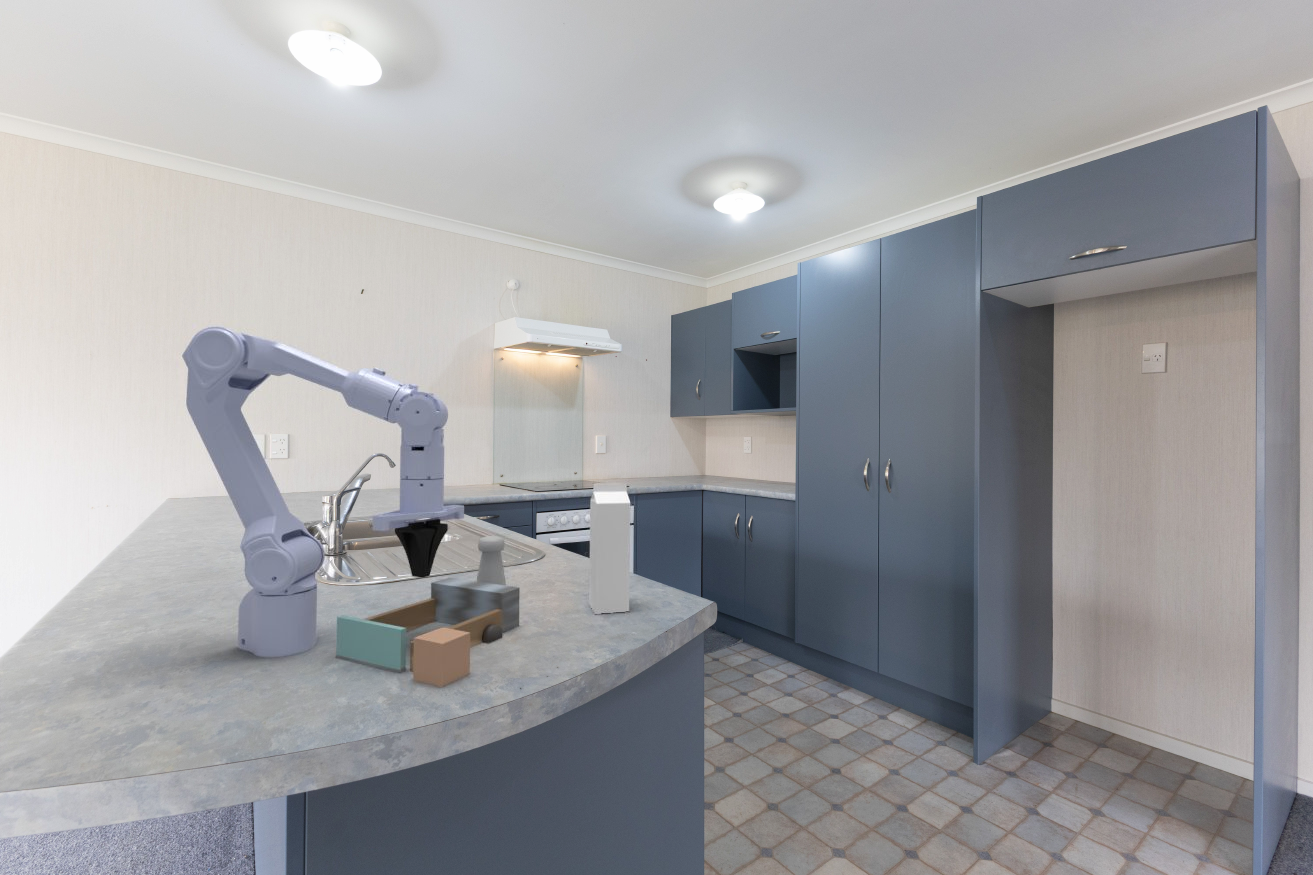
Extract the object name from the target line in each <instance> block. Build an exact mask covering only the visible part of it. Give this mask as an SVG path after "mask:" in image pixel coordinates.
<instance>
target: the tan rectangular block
mask: <svg viewBox="0 0 1313 875" xmlns="http://www.w3.org/2000/svg"><path fill="white" fill-rule="evenodd" d="M413 641H414V663H413V671H412V672H413V673H412V678H413V679H412V680H413V681H415V682H419V683H424V684H427V685H431V686H434V687H435V686H436V687H439V688H443V687H445V686H447V685H449V684H451V683H453V682H455V681H457V680H459V679H460V680H461V679H462V678H464V677H466V676H468V675H470V674H471V667H470V666H471V647H470V632H464V631H459V630H454V629H449V628H448V627H444V626H442V627H439V628H437V629H434V630H431V631H428V632H426V633H424V634H420V635H418V636H415V637H414V638H413Z"/></svg>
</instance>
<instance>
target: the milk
mask: <svg viewBox="0 0 1313 875" xmlns="http://www.w3.org/2000/svg"><path fill="white" fill-rule="evenodd" d="M592 487H593V492H592V495H591V497H590V501H589V502H590V506H589V511H590V512H589V513H590V514H589V515H590V516H589V573H588V574H589V581H588V582H589V584H588V585H589V586H588V587H589V589H588V590H589V592H588V596H589V597H588V606H589V605H590V606H589V607H590V609H591V608H592V609H591V610H592V612H593V614H594V615H595V614H597V615H602V614H601V613H611V614H614V613H613V612H625V611H629V612H630V573H631V572H630V567H631V566H630V565H631V562H630V560H631V559H630V558H631V557H630V556H631V553H630V551H631V501H630V497H629V494H628V485H627V483H625V482H599V483H597V482H596V483H594V484H593V486H592ZM625 613H626V612H625Z"/></svg>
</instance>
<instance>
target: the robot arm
mask: <svg viewBox="0 0 1313 875" xmlns="http://www.w3.org/2000/svg"><path fill="white" fill-rule="evenodd" d="M181 356H182V359H183V360H184V363H185V365H186V367H187V380H186V381H187V383H186V397H185V398H186V400H185V401H186V404H185V405H186V408H187V412H188V414H189V416H190V418H191V420H192V422H193V424H194V427H195V428H196V430H197V433H198V435H199V436H200V438H201V441H202V443H203V445H204V447H205V448H206V450H207V453H208V455H209V457H210V459H211V461H212V463H213V465H214V467H215V469H216V471H217V473H218V475H219V477H220V479H221V482H222V483H223V486H224V488H225V490H226V492H227V495H228V496H229V498H230V500H231V502H232V504H233V506H234V509H235V510H236V512H237V515H238V516H239V519H240V521H241V523H242V525H243V528H244V533H243V537H242V539H241V543H240V545H239V547H240V550H241V552H242V555H243V557H244V570H243V571H244V577H245V579H246V582H247V583H248V584H249V586H251V587H252V589H250V590H249V591H248V592H247V593H245V594H244V596H243V598H242V600H241V601H240V603H239V607H238V622H237V623H238V624H237V625H238V627H237V628H238V632H237V634H238V635H237V648H238V649H240V650H244V651H246V652H251V653H252V654H253V655H254V656H257V657H258V658H259V657H260V658H281V657H287V656H293V655H297V654H301V653H304V652H306V651H309V650H312V649H313V648H315V646H317V631H318V630H317V628H318V625H317V624H318V623H317V622H318V621H317V617H318V613H317V612H318V581H317V580H318V579H317V578H316V573H318V571H319V570H320V569H321V568H322V566H323V565H324V563H325V562H324V561H325V557H326V553H325V549H324V545H323V544H322V543H321V541H320V540H319V539H318V538H316V537H315V536H313V535H312V534H311V533H310V532H309V530H308V529H307V527H306V524H305V523H304V522H303V521H301V520H300V519H299V518H298V517H296V516H295V515H293V514H292V512H290V511H289V508H288V506H287V504H286V501H285V500H284V497H283V495H282V493H281V491H280V489H279V487H278V484H277V483H276V480H275V479H274V477H273V474H272V472H271V470H270V468H269V466H268V464H267V462H266V459H265V458H264V456H263V454H262V451H261V449H260V447H259V445H258V443H257V441H256V439H255V437H254V435H253V433H252V431H251V428H250V426H249V424H248V422H247V420H246V418H245V416H244V414H243V412H242V407H243V405H244V403H245V402H246V401H247V399H248V397H249V396H250V395H251V394H252V392H254V391H255V390H256V389H258V387H259V386H260V385H262V384H263V383H264V382H265V381H266V380H267V379H268V378H269V377H270V376H276V377H282V376H284V375H288V374H289V375H291V376H295V377H297V378H300V379H303V380H305V381H308V382H311V383H314V384H317V385H319V386H322V387H324V388H328V389H331V390H333V391H336V392H339V393H341V395H342V397H343V399H344V400H345V402H346V403H345V404H346V405H347V406H348V407H350V408H353V409H355V410H357V411H360V412H363V413H365V414H368V415H370V416H373V417H375V418H378V419H380V420H383V421H386V422H388V423H390V424H397V425H398V427H400V428H401V431H400V432H401V434H400V436H401V438H400V439H401V443H400V449H399V450H400V452H399V453H400V460H399V461H400V462H399V463H400V464H399V465H400V466H399V509H398V510H394V511H389V512H385V513H379V514H375V515H372V530H373V531H377V532H379V531H380V532H387V531H390V530H392V529H394V533H395V535H396V537H397V538H398V540H399V542H400V544H401V545H402V547H403V549H404V552H405V555H406V558H407V561H408V565H409V568H410V573H411V576H412V577H414V578H422V579H423V578H427V577H430V575H431V572H432V568H433V564H434V561H435V558H436V554H437V552H438V549H439V547H440V544H441V542H442V541H443V538H445V536H446V534H447V532H448V529H449V526H448V525H449V524H448V523H442V522H443V521H448V520H449V521H450V520H461V519H464V518H465V506H464V505H461V504H450V505H445V504H444V502H445V501H444V500H445V498H444V496H445V444H444V440H445V433H444V426H446V424H447V422H448V419H449V410H448V407H447V405H446V403H445V402H444V401H443V400H442V399H441V398H439V396H437V395H435V394H434V393H431V392H424V391H418V390H419V385H417V384H414V383H411V382H409V384H407V383H404V382H401V381H399V380H396V379H393V378H391V377H389V376H387V375H386V373H387V372H386V371H384V370H383V369H380V368H377V367H373V369H372V370H371V369H370V368H366V367H365V368H361V369H357V370H356V371H351V372H350V371H348V370H346V369H344V368H342V367H339V366H337V365H335V364H332V363H330V362H329V361H328V362H327V361H325V360H324V359H321V358H319V357H316V356H314V355H311V354H309V353H308V352H304V351H302V350H300V349H299V348H296V347H294V346H291V345H288V344H284V343H281V342H278V341H276V340H272V339H271V340H270V339H266V338H263V337H259V336H255V335H252V334H248V333H242V332H240V333H238V332H235V331H233V330H232V329H230V328H227V327H224V326H217V325H216V326H215V325H214V326H208V327H205V328H203V329H201V330H200V331H198V332H197V333H196V334H195V335H194V336H193V337H192V338H191V341H190V342H189V343H188V345H187V347H186V348H185V350H184V351H183V353H182V355H181Z"/></svg>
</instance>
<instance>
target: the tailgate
mask: <svg viewBox="0 0 1313 875" xmlns="http://www.w3.org/2000/svg"><path fill="white" fill-rule="evenodd" d="M364 619H365V618H358V617H353V616H349V615H339V616H337V617H336V653H335V654H336V655H335V658H336V659H340V660H343V661H348V662H351V663H356V664H360V665H364V666H368V667H372V668H376V669H380V670H385V671H389V672H393V673H395V674H396V673H397V674H402V673H404V672H406V671H407V667H406V665H407V631H406V628H404V627H399V626H394V625H389V624H384V623H379V622H374V621H369V620H364Z"/></svg>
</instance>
